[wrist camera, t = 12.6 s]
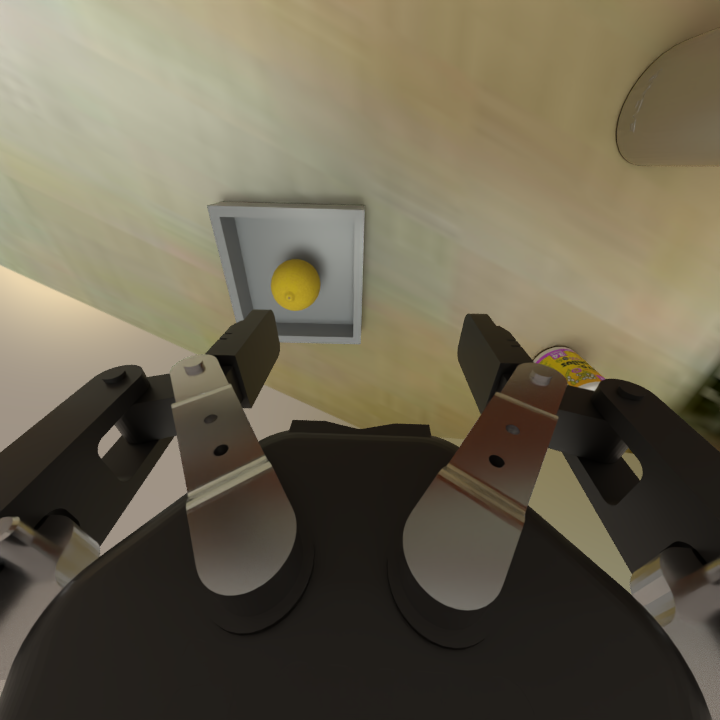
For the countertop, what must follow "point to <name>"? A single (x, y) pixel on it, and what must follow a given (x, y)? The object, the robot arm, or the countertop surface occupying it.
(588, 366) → the supplement bottle
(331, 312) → the box
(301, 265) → the lemon
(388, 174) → the countertop surface
